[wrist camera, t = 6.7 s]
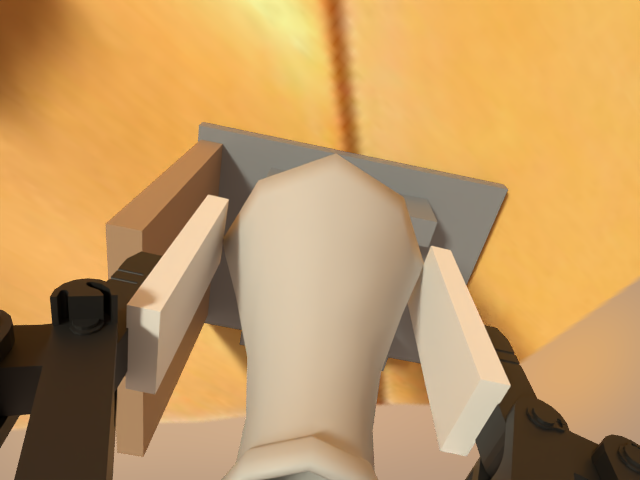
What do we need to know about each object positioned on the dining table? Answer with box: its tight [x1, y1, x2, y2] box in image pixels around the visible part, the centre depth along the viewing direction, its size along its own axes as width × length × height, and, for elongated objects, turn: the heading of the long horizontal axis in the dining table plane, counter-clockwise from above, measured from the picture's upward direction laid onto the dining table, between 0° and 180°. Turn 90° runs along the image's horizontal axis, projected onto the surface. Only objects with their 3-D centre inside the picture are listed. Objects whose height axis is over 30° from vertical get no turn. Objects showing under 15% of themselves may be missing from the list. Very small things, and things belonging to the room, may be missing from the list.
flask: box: [222, 154, 424, 480], centre depth 12 cm, size 7×7×10 cm
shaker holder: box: [106, 122, 508, 457], centre depth 30 cm, size 23×18×15 cm
